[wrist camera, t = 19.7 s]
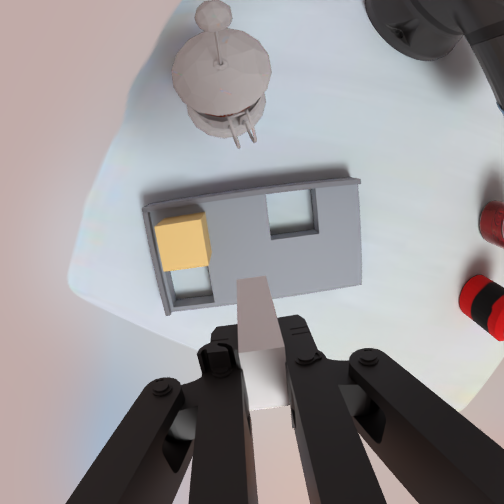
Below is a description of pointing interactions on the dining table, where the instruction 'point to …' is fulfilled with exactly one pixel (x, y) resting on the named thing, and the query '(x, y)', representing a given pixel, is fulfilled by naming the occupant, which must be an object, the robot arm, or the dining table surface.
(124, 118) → the dining table surface
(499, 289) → the soda can
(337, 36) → the dining table surface
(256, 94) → the french press
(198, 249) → the ochre block
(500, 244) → the soda can
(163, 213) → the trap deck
